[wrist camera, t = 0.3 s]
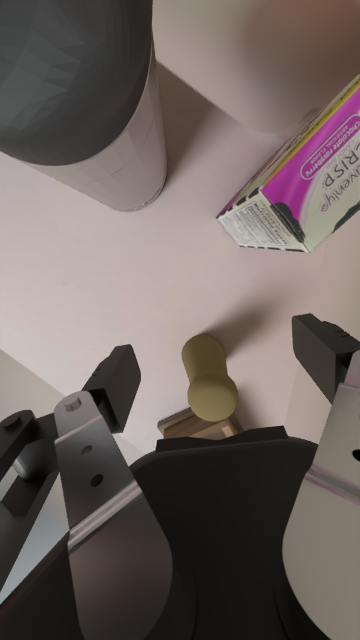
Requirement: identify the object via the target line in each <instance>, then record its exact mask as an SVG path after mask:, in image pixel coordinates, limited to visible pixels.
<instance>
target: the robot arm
mask: <svg viewBox="0 0 360 640" xmlns="http://www.w3.org/2000/svg"><path fill="white" fill-rule="evenodd" d="M152 2H153V0H0V151H1V152H3V153H5V154H7V155H9V156H10V157H12V158H14V159H16V160H18V161H20V162H22V163H24V164H26V165H28V166H30V167H32V168H34V169H36V170H38V171H40V172H42V173H44V174H46V175H48V176H50V177H52V178H54V179H56V180H58V181H60V182H62V183H64V184H66V185H68V186H70V187H71V188H73V189H75V190H77V191H79V192H81V193H83V194H85V195H87V196H89V197H91V198H93V199H95V200H97V201H99V202H100V203H103V204H105V205H107V206H109V207H111V208H113V209H115V210H119V211H126V212H132V211H137V210H140V209H142V208H145V207H147V206H148V205H149V204H151V203H152V202H153V201H154V200H155V199H156V198H157V196H158V195H159V194H160V192H161V190H162V188H163V186H164V183H165V180H166V176H167V157H166V145H165V136H164V127H163V118H162V109H161V100H160V92H159V83H158V74H157V67H156V58H155V50H154V41H153V32H152V4H153V3H152ZM292 336H293V349H294V353H295V356H296V358H297V359H298V361H299V362H300V363H301V365H302V366H303V367H304V369H305V370H306V371H307V372H308V374H309V375H310V376H311V378H312V379H313V380H314V382H315V383H316V384H317V386H318V387H319V388H320V390H321V391H322V392H323V394H324V395H325V396H326V398H327V399H328V400H329V402H330V403H331V404H332V407H331V410H330V413H329V415H328V418H327V421H326V425H325V427H324V431H323V433H322V436H321V439H320V443H319V445H318V444H316V443H313V442H311V441H307V440H304V439H301V438H296V437H290V436H288V435H287V433H286V431H285V428H284V426H275V427H266V428H257V429H250V430H247V431H244V432H241V433H238V434H235V435H233V436H230V437H227V438H224V439H221V440H213V439H204V438H196V437H187V436H186V437H177V438H168V439H159V440H157V445H156V450H155V451H153V452H150V453H148V454H146V455H144V456H143V457H141V458H139V459H138V460H136V461H135V462H134V463H133V464H131V465H130V466H129V467H128V465H127V463H126V461H125V459H124V457H123V455H122V453H121V451H120V449H119V447H118V445H117V444H116V441H115V439H114V438H113V436H112V434H114V433H123V430H124V427H125V424H126V422H127V419H128V416H129V413H130V410H131V407H132V404H133V401H134V398H135V396H136V393H137V390H138V387H139V384H140V381H141V372H140V368H139V365H138V362H137V359H136V356H135V353H134V350H133V348H132V346H131V345H130V344H128V345H122V346H116V347H115V348H114V349H113V351H112V353H111V354H110V356H109V357H107V358H106V359H104V360H103V361H102V362H101V363H100V364H99V365H98V366H97V368H96V369H95V371H94V372H93V374H92V376H91V377H90V378H89V380H88V381H87V383H86V384H85V386H84V387H83V388H82V390H81V391H79V392H75V393H73V394H70V395H69V396H67V397H65V398H64V399H62V400H61V401H60V402H59V403H58V404H57V405H56V407H55V409H54V413H51V414H48V415H46V416H43V417H40V418H37V419H36V417H35V416H34V414H33V412H32V411H31V410H23V411H19V412H17V413H14V414H13V415H11V416H9V417H7V418H6V419H4V420H3V421H1V422H0V482H1V480H2V478H3V477H4V476H5V474H6V473H7V471H8V470H9V468H10V467H11V466H13V467H14V469H15V470H16V472H17V473H18V476H17V478H16V479H15V481H14V483H13V484H12V486H11V487H10V489H9V490H8V492H7V493H6V495H5V496H4V498H3V499H2V501H0V591H1V590H2V588H3V585H4V584H5V582H6V579H7V577H8V575H9V573H10V571H11V569H12V567H13V565H14V563H15V561H16V559H17V557H18V555H19V553H20V551H21V549H22V547H23V544H24V542H25V541H26V539H27V537H28V535H29V533H30V531H31V529H32V527H33V524H34V523H35V520H36V519H37V517H38V514H39V512H40V510H41V508H42V506H43V504H44V502H45V500H46V498H47V496H48V494H49V492H50V490H51V488H52V486H53V484H54V482H55V480H56V478H57V476H58V474H59V472H60V477H61V483H62V489H63V495H64V500H65V507H66V513H67V519H68V524H69V531H68V532H67V533H66V534H65V535H64V536H63V537H62V539H61V540H60V541H59V542H58V543H57V544H56V545H55V546H54V547H53V548H52V549H51V551H49V553H48V554H47V555H46V556H45V557H44V558H43V559H42V560H41V561H40V562H39V563H38V564H37V566H36V567H35V568H34V569H33V570H32V571H31V572H30V573H29V574H28V575H27V576H26V577H25V578H24V580H23V581H22V582H21V583H20V584H19V585H18V586H17V587H16V588H15V589H14V590H13V592H11V594H10V595H9V596H8V597H7V598H6V599H5V600H4V601H3V602H2V603H1V604H0V640H360V342H359V341H358V340H356V339H355V338H353V337H352V336H350V334H348V333H347V332H344V330H343V329H341V328H340V327H338V326H337V325H335V324H332V323H329V322H326V321H323V322H321V321H320V320H319V319H318V318H316V317H315V316H314V315H312V314H311V313H309V314H303V315H297V316H293V317H292Z"/></svg>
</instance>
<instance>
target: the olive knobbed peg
mask: <svg viewBox="0 0 360 640" xmlns="http://www.w3.org/2000/svg"><path fill="white" fill-rule="evenodd" d="M182 360H183V363H184V366H185V369H186V372H187V375H188V378H189V381H190V385H189V389H188V403H189V405H190V407H191V409H192V411H193V412H194V413H195V414H196V415H197V416H198V417H200V418H202V419H204V420H206V421H211V422H213V421H220V420H223V419H226V418H227V417H229V416H230V415H231V414H232V413H233V412H234V410H235V409H236V406H237V404H238V390H237V388H236V385H235V383H234V381H233V380H232V379H231V378H230V377H229V376H228V373H227V366H226V359H225V352H224V348H223V346H222V344H221V342H220V341H219V340H218V339H216V338H215V337H213V336H209V335H198V336H195V337H192V338H191V339H190V340H188V341H187V342H186V344H185V345H184V347H183V350H182Z"/></svg>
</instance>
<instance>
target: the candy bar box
mask: <svg viewBox="0 0 360 640" xmlns="http://www.w3.org/2000/svg"><path fill="white" fill-rule="evenodd" d="M358 210H360V74H359V75H358V76H357V77H355V78H354V79H353V81H351V82H350V83H349V84H348V85H347V86H346V87H345V88H344V89H343V90H342V91H341V92H340V93H339V94H337V95H336V96H335V97H334V98H333V99H332V100H331V101H330V102H329V103H328V104H327V105H326V106H325V107H323V108H322V109H321V110H320V111H319V112H318V113H317V114H316V115H315V116H314V117H313V118H312V119H311V120H310V121H308V122H307V123H306V124H305V125H304V126H303V127H302V128H301V129H300V130H299V131H298V132H297V133H296V134H295V135H294V136H293V137H292V138H291V139H290V140H288V141H287V142H286V143H285V144H284V145H283V146H282V147H281V148H280V149H279V150H278V151H277V152H276V153H275V154H274V155H273V156H272V157H271V158H270V160H269V161H268V162H267V163H266V164H265V165H264V166H263V167H262V168H261V169H260V170H259V171H258V172H257V173H256V174H255V175H254V176H253V177H252V178H251V180H250V181H249V182H248V183H247V184H246V185H245V186H244V187H243V188H242V189H241V190H240V191H239V192H238V194H237V195H236V196H235V197H234V198H233V199H232V200H231V201H230V202H229V203H228V205H227V206H226V207H225V208H224V209H223V210H222V211H221V212H220V213H219V215H218V216H217V217H216V219H217V220H218V221H219V222H220V224H221V225H222V226H223V227H224V228H225V229H226V230H227V232H228V233H229V234H230V235H231V236H232V238H233V239H234V240H235V241H236V242H237V244H238V245H239V246H240V247H251V248H263V249H274V250H285V251H298V252H307V253H311V252H312V251H313V250H315V249H316V248H317V247H318V246H319V245H320V244H321V243H322V242H324V241H325V240H326V239H327V238H328V237H329V236H330V235H331V234H332V233H334V232H335V231H336V230H337V229H338V228H340V226H341V225H343V224H344V223H345V222H346V221H347V220H348V219H350V218H351V217H352V216H353V215H354V214H355V213H356V212H357V211H358Z"/></svg>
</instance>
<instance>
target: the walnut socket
mask: <svg viewBox="0 0 360 640" xmlns="http://www.w3.org/2000/svg"><path fill="white" fill-rule="evenodd" d="M157 427H158V429H159V430H160V432H161V433H162V434H163V436H164V439H168V438H177V437H186V436H187V437H196V438H204V439H213V440H221V439H224V438H227V437H230V436H233V435H235V434H238V433H241V432H244V431H243V429H242V427H241V426H240V424H239V422H238V420H237V419H236V417H235V415H234V414H233V413H232V414H231V415H230V416H229V417H227V418H226V419H223V420H220V421H213V422H211V421H206V420H204V419H202V418H200V417H198V416H197V415H196V414H195V413H194V412H193V411H192V409H191V407H190V408H188V409H186V410H184V411H182V412H179V413H177V414H175V415H173V416H171V417H169V418H167V419H164V420H162V421H160V422H158V426H157Z"/></svg>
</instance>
